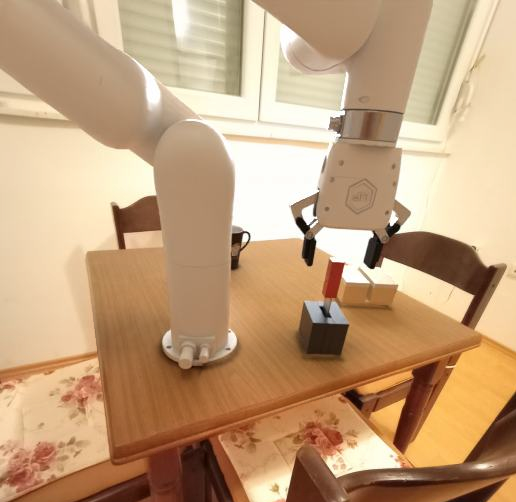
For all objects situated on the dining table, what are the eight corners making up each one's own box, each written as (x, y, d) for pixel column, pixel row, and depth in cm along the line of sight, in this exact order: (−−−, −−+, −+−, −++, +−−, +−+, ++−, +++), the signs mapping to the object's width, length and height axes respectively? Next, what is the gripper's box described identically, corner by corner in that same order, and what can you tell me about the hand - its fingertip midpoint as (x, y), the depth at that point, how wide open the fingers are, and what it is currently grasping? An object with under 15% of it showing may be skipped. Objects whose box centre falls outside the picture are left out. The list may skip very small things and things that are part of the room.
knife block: (339, 359, 54) (349, 324, 50) (305, 358, 53) (312, 322, 49) (328, 334, 60) (336, 302, 56) (297, 333, 60) (303, 300, 56)
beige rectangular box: (390, 308, 72) (398, 284, 69) (340, 306, 71) (346, 281, 68) (372, 289, 81) (379, 267, 78) (328, 287, 80) (333, 264, 77)
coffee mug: (213, 271, 82) (213, 232, 77) (208, 260, 89) (208, 224, 84) (255, 270, 85) (258, 233, 80) (248, 260, 92) (250, 225, 87)
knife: (326, 346, 55) (346, 263, 47) (314, 345, 55) (333, 262, 46) (322, 336, 57) (340, 257, 49) (311, 336, 57) (328, 256, 49)
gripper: (304, 125, 35) (286, 271, 44) (449, 137, 36) (402, 276, 46) (294, 126, 41) (280, 254, 51) (418, 137, 43) (382, 259, 52)
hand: (338, 264), depth 48 cm, fingers open, 9 cm apart
